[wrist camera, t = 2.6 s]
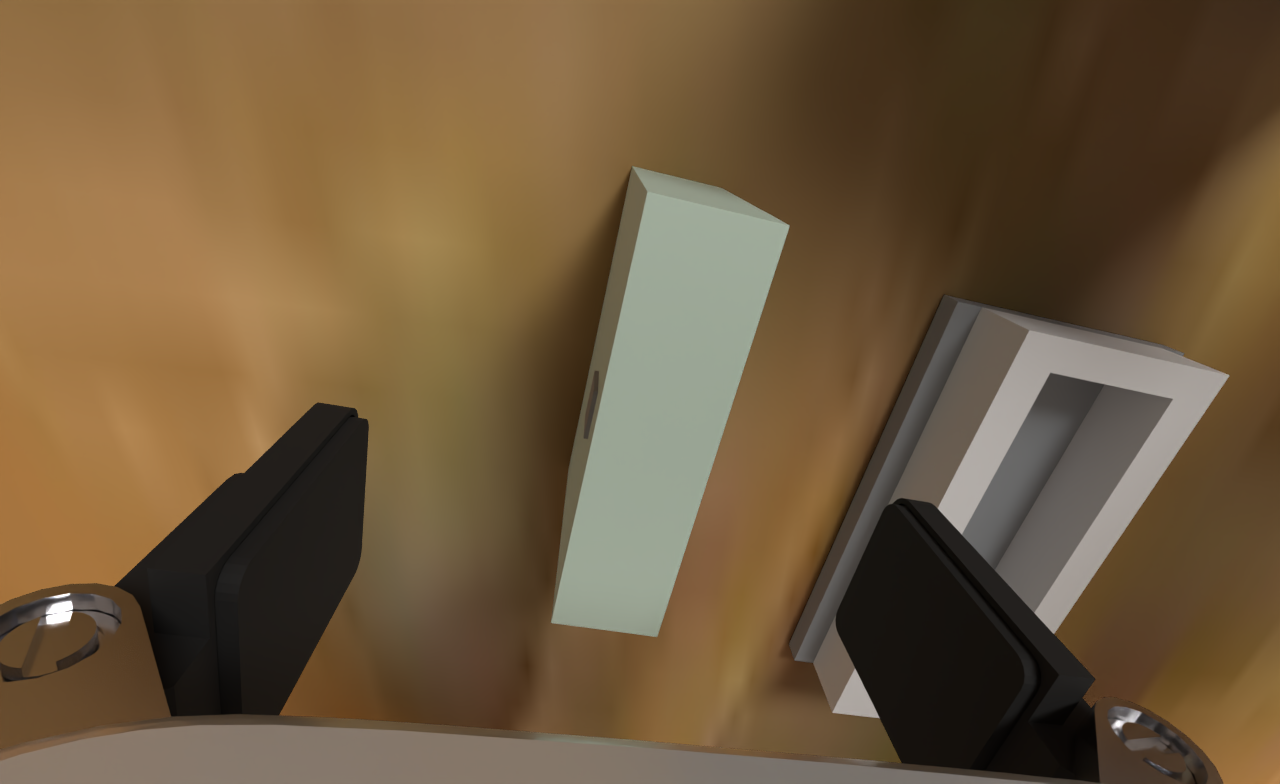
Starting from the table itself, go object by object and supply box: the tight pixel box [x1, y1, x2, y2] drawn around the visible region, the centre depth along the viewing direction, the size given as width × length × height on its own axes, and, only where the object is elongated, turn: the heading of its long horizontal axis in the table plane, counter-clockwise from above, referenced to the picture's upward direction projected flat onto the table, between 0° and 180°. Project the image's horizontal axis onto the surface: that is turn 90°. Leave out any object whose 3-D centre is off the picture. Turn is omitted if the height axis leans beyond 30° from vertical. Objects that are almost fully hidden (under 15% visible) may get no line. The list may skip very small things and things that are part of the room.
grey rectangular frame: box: [789, 295, 1230, 718], centre depth 20 cm, size 8×15×3 cm, turn 167°
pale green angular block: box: [551, 166, 790, 637], centre depth 15 cm, size 3×10×7 cm, turn 167°
